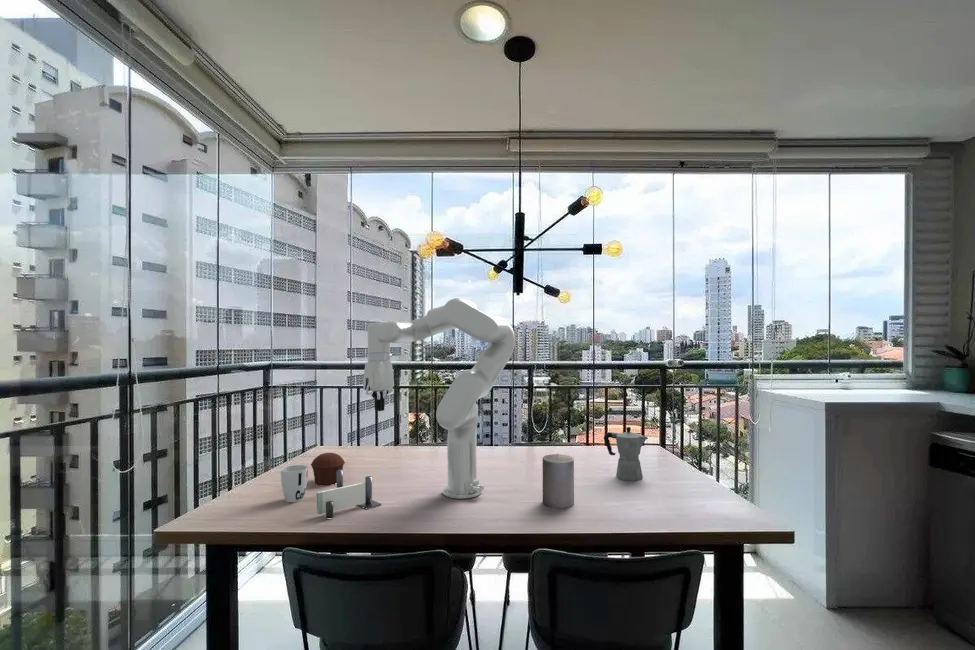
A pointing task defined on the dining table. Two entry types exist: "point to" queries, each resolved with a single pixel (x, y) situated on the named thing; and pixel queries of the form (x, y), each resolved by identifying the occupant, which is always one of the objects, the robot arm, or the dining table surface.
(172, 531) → the dining table surface
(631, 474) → the coffeepot
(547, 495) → the pillar candle
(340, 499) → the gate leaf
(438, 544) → the dining table surface
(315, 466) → the muffin
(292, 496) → the cup
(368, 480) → the gate frame
